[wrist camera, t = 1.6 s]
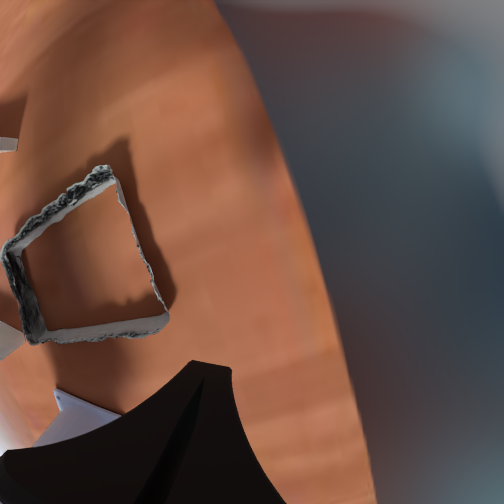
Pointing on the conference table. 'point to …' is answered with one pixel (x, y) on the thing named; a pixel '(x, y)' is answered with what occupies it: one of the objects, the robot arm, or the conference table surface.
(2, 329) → the box
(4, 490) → the robot arm
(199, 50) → the conference table surface
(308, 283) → the conference table surface
